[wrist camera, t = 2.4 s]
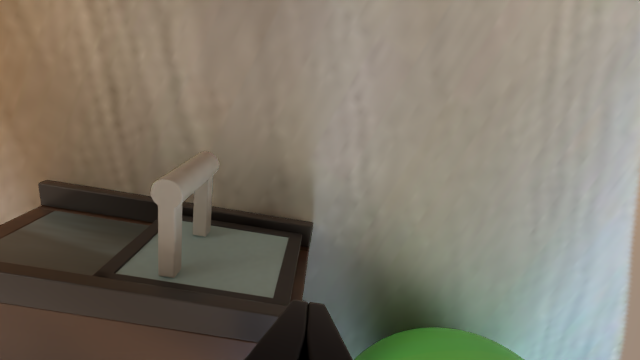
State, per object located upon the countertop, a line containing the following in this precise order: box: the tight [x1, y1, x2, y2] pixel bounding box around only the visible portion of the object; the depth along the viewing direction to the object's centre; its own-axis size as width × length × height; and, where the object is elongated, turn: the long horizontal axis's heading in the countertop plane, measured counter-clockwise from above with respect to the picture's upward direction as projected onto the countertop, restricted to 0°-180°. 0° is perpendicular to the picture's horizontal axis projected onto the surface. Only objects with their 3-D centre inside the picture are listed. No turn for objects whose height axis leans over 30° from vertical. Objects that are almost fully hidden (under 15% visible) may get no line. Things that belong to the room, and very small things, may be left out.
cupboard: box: [0, 180, 313, 360], centre depth 19 cm, size 11×18×9 cm, turn 81°
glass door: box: [92, 151, 302, 306], centre depth 17 cm, size 6×9×7 cm, turn 81°
